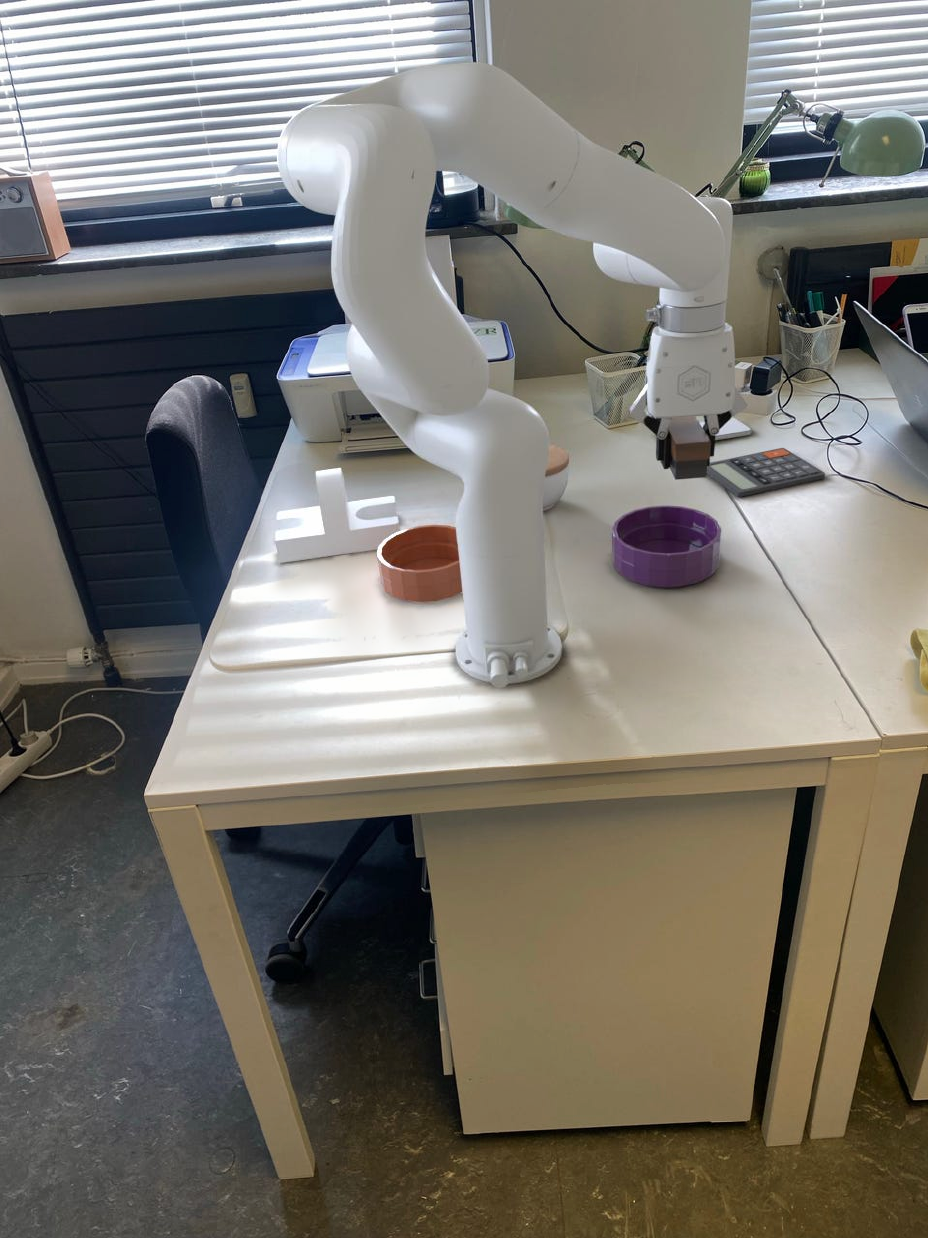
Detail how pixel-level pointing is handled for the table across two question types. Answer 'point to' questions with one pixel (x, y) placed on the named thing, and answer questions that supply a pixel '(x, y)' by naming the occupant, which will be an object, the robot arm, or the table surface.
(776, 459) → the calculator
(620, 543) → the plum bowl
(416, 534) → the terracotta bowl
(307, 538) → the white slotted stand
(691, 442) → the scrub brush
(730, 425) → the smartphone
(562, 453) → the trinket box
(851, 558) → the table surface
